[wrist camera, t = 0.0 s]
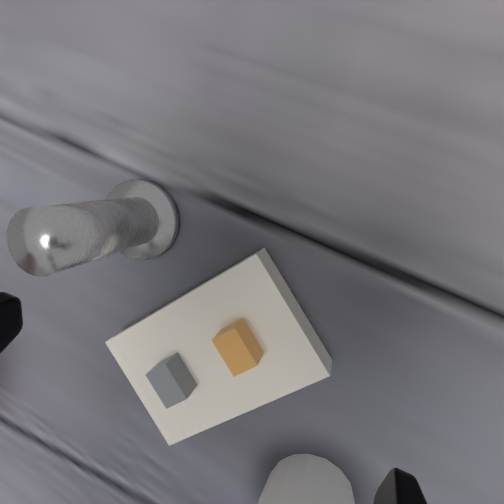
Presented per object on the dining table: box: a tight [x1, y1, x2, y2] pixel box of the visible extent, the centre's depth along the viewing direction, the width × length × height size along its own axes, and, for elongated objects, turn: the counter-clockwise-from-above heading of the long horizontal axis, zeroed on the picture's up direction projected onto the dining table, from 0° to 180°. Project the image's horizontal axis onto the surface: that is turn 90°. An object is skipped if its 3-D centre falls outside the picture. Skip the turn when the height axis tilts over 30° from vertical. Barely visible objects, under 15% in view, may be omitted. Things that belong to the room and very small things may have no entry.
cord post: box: [7, 180, 179, 276], centre depth 21 cm, size 5×5×9 cm
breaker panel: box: [105, 247, 332, 446], centre depth 24 cm, size 12×8×4 cm, turn 122°
